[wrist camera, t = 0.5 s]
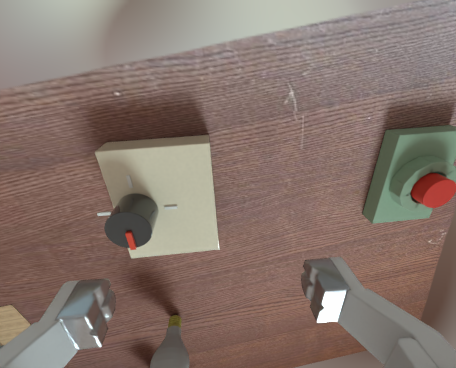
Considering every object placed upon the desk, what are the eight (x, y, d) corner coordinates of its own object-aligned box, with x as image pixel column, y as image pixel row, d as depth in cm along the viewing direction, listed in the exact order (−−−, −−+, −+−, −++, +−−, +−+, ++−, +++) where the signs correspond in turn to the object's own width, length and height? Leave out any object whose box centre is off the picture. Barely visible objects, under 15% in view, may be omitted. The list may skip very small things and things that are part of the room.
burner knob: (111, 195, 24) (96, 216, 20) (154, 191, 24) (146, 211, 21) (123, 228, 26) (110, 252, 23) (162, 224, 26) (155, 248, 23)
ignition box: (385, 129, 26) (413, 140, 23) (450, 124, 27) (486, 134, 23) (362, 214, 32) (381, 232, 29) (415, 208, 33) (441, 226, 29)
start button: (416, 174, 25) (430, 181, 24) (447, 171, 26) (462, 178, 24) (406, 201, 27) (418, 209, 26) (434, 198, 27) (448, 206, 26)
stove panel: (88, 143, 24) (73, 153, 21) (209, 134, 25) (209, 143, 22) (123, 243, 31) (115, 261, 28) (218, 233, 31) (219, 250, 29)
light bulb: (181, 301, 37) (173, 374, 29) (197, 318, 40) (195, 390, 31) (152, 313, 38) (137, 388, 29) (170, 329, 41) (161, 402, 32)
